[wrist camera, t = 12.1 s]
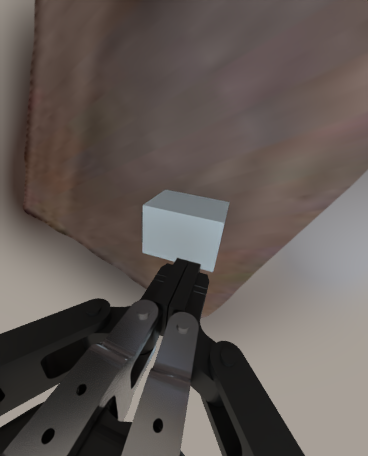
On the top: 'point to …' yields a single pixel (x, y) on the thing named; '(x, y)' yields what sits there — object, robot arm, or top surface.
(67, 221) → the top surface
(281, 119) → the top surface
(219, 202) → the block
